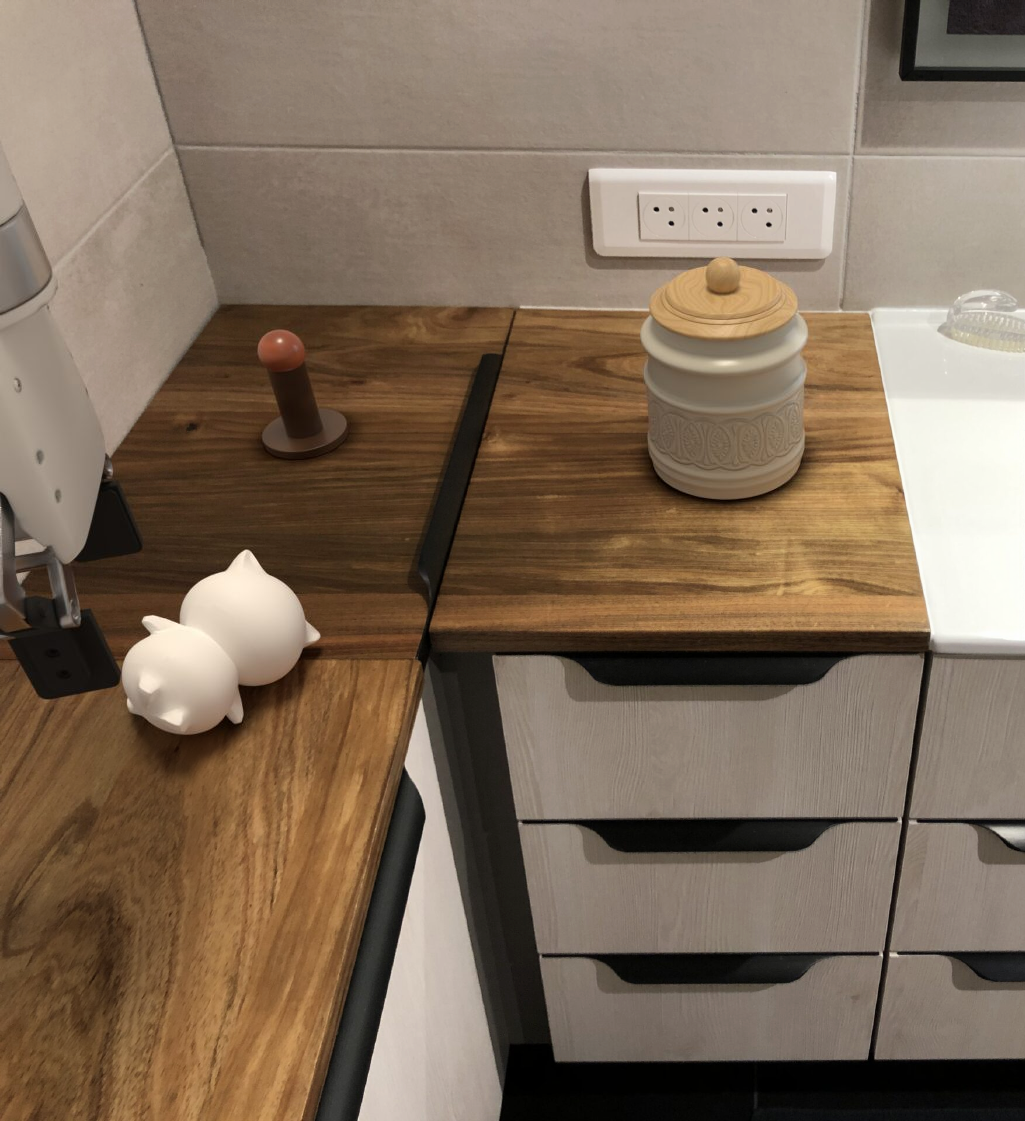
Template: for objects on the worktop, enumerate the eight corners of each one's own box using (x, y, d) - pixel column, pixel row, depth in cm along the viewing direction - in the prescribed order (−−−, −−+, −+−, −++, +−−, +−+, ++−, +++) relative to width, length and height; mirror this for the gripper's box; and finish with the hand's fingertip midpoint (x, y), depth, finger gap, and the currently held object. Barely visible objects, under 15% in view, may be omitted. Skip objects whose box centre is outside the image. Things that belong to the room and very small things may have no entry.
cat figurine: (115, 652, 63) (270, 528, 71) (48, 673, 70) (197, 558, 78) (220, 764, 66) (358, 633, 74) (147, 774, 73) (280, 653, 81)
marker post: (283, 469, 93) (248, 362, 87) (251, 434, 98) (216, 329, 91) (362, 439, 97) (334, 334, 91) (328, 407, 101) (300, 304, 95)
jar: (776, 517, 88) (779, 309, 77) (624, 486, 91) (605, 283, 80) (822, 431, 97) (831, 236, 86) (683, 406, 101) (673, 215, 90)
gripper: (-121, 197, 47) (39, 524, 58) (-277, 400, 34) (-33, 773, 45) (75, 177, 49) (196, 499, 60) (-2, 364, 36) (169, 731, 47)
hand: (97, 617), depth 52 cm, fingers open, 9 cm apart
